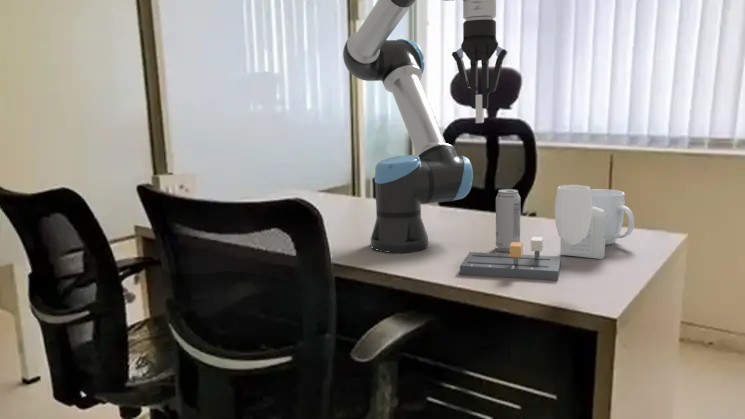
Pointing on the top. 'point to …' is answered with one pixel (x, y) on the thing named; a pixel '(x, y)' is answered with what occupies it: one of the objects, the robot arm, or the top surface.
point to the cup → (573, 212)
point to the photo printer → (589, 239)
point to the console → (511, 266)
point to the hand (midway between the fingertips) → (479, 122)
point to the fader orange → (516, 251)
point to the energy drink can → (507, 218)
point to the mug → (613, 212)
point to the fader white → (537, 245)
